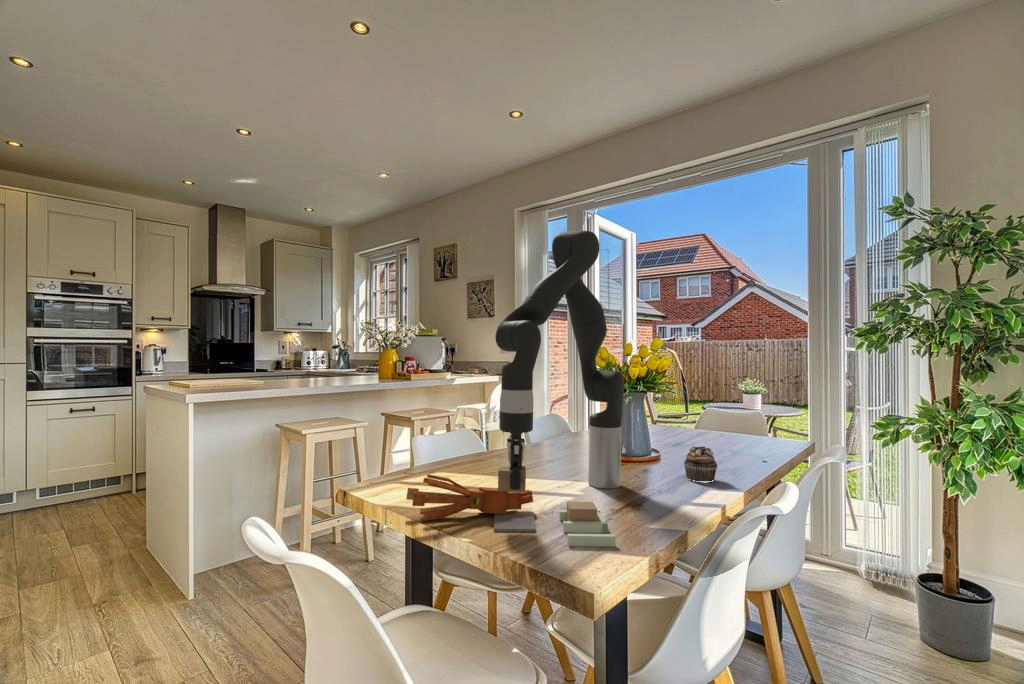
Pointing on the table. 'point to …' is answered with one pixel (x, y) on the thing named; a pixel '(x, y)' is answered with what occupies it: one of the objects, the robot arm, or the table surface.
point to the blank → (505, 479)
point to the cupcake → (700, 464)
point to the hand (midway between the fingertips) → (514, 485)
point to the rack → (585, 525)
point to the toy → (465, 499)
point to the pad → (514, 523)
